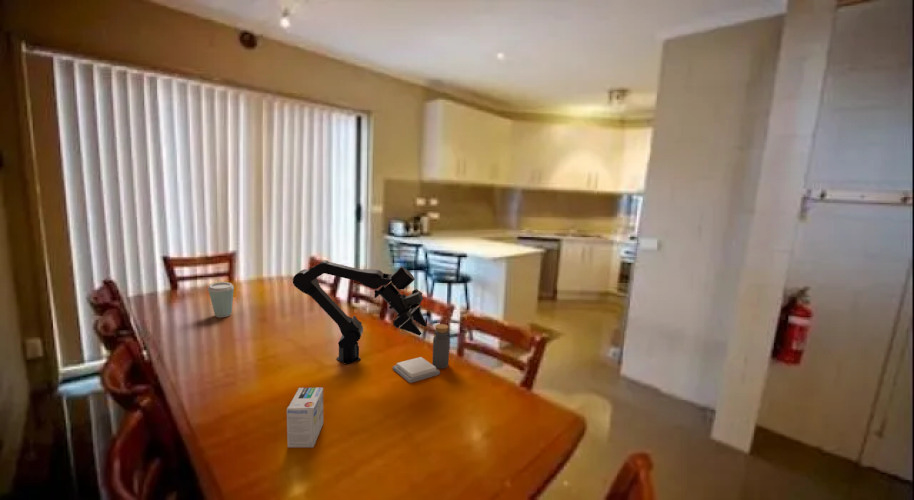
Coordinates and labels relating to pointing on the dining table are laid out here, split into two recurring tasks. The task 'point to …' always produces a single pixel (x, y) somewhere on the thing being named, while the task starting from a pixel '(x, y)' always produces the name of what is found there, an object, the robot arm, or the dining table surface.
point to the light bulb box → (305, 417)
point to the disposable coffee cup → (221, 298)
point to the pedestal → (416, 369)
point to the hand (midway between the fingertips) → (423, 330)
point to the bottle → (441, 347)
